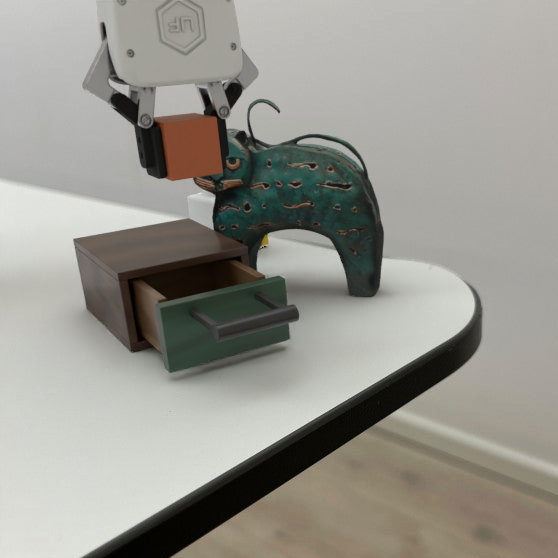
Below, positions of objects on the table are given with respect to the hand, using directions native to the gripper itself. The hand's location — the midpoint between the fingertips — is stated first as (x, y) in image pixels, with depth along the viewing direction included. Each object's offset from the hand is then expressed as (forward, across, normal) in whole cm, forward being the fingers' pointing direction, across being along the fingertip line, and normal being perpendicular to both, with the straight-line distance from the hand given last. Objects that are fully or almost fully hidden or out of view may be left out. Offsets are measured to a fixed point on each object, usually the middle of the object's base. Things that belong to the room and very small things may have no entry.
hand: (187, 169), depth 64 cm
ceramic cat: (+16, +14, +9) cm, 24 cm away
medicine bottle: (+16, +16, +28) cm, 36 cm away
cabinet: (+16, 0, +11) cm, 19 cm away
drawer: (+15, 0, -2) cm, 15 cm away
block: (0, 0, 0) cm, 0 cm away
